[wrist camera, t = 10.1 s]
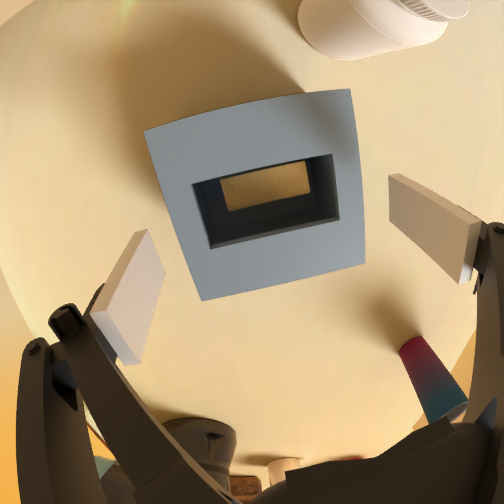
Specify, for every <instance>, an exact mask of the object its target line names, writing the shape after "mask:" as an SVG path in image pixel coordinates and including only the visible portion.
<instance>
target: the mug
mask: <svg viewBox="0 0 504 504" xmlns="http://www.w3.org/2000/svg"><path fill="white" fill-rule="evenodd" d="M267 466H268V473H269V481H270V487H271V486H272V485H274V484H276V483H278V482H281V481H283V480H285V479H286V478H285V472H284V471H288V470H294V469H298V468H303V467H308V466H310V465H307V466H300V463H299V460H298V459H295V458H283V459H278V460H274V461H272V462H270V463H269V464H268V465H267Z"/></svg>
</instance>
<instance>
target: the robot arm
mask: <svg viewBox="0 0 504 504" xmlns="http://www.w3.org/2000/svg"><path fill="white" fill-rule="evenodd" d="M388 181H389V220H390V222H391V223H393V224H394V225H395V226H396V227H397V228H398V229H400V230H401V231H402V232H403V233H404V234H405V235H406V236H408V237H409V238H410V239H411V240H412V241H413V242H414V243H416V244H417V245H418V246H419V247H420V248H421V249H422V250H423V251H424V252H425V253H426V254H428V255H429V256H430V257H431V258H432V259H433V260H434V261H435V262H436V263H437V264H438V265H439V266H440V267H441V268H442V269H443V270H444V271H445V272H446V273H447V274H448V275H449V276H450V277H451V278H452V279H453V280H454V281H455V282H456V283H457V284H458V285H459V284H462V283H464V282H466V281H469V280H471V276H472V272H473V267H474V268H475V269H476V270H477V271H478V272H479V273H478V277H477V281H476V285H475V288H474V292H473V294H475V293H476V291H477V330H476V346H475V357H474V367H473V375H472V382H471V388H470V395H469V400H468V406H467V410H466V413H465V416H464V418H463V420H462V422H459V423H452V424H451V423H450V421H449V420H448V418H447V416H445V417H443V418H441V419H439V420H437V421H435V422H433V423H431V424H429V425H427V426H425V427H423V428H421V429H418V430H416V431H414V432H412V433H411V434H409V435H408V436H407V437H405V438H404V439H402V440H401V441H400V442H398V443H397V444H395V445H394V446H392V447H391V448H390V449H388V450H387V451H385V452H384V453H382V454H380V455H379V456H377V457H374V458H368V459H358V460H345V461H328V462H324V463H320V464H316V465H312V466H308V467H303V468H298V469H294V470H288V471H284V472H285V478H286V479H285V480H283V481H281V482H278V483H276V484H274V485H272V486H271V487H269V488H267V489H266V490H264V491H263V492H261V493H260V494H258V495H257V496H256V497H255V498H254V499H252V500H251V501H250V502H249V503H248V504H504V224H502V223H499V222H492V223H489V224H486V223H485V222H483V221H482V220H480V219H479V218H477V217H476V216H474V215H472V214H471V213H470V212H468V211H466V210H465V209H463V208H462V207H460V206H458V205H456V204H454V203H452V202H451V201H449V200H447V199H446V198H444V197H442V196H440V195H439V194H437V193H435V192H433V191H432V190H430V189H428V188H426V187H424V186H422V185H421V184H419V183H417V182H415V181H413V180H411V179H409V178H407V177H405V176H403V175H401V174H394V175H388ZM164 275H165V271H164V268H163V266H162V264H161V261H160V259H159V256H158V254H157V251H156V249H155V246H154V244H153V241H152V239H151V236H150V234H149V231H148V229H146V230H142V231H138V232H135V233H134V235H133V237H132V238H131V240H130V241H129V243H128V245H127V246H126V248H125V250H124V251H123V253H122V255H121V256H120V258H119V260H118V262H117V263H116V265H115V267H114V268H113V270H112V272H111V274H110V276H109V277H108V279H107V281H106V283H103V284H102V285H101V286H100V287H99V288H98V289H97V290H96V292H95V294H94V296H93V299H91V301H90V303H89V305H88V307H87V309H86V311H85V313H84V315H83V316H82V315H81V313H80V311H79V310H78V308H77V307H76V305H75V304H73V303H69V304H65V305H63V306H61V307H59V308H58V309H57V310H56V311H54V313H53V314H52V315H51V316H50V318H49V320H48V324H49V326H50V327H51V329H52V330H53V332H54V333H55V335H56V336H57V337H58V339H59V340H60V341H59V342H57V343H55V344H52V345H49V344H48V343H47V341H46V340H45V339H44V338H41V337H39V338H36V339H34V340H33V341H30V342H29V343H28V344H27V346H26V348H25V349H24V351H23V354H22V360H21V368H20V376H19V385H18V396H17V412H16V459H17V474H18V485H19V493H20V500H21V504H243V503H242V502H240V501H239V500H238V499H237V498H235V497H234V496H233V495H232V494H231V491H230V478H229V467H230V464H231V461H232V458H233V454H234V451H235V448H236V444H237V440H236V432H235V431H234V430H233V429H232V428H231V427H229V426H227V425H225V424H223V423H220V422H216V421H212V420H206V419H197V418H185V419H176V420H172V421H169V422H167V423H165V424H163V425H162V424H161V423H160V422H159V421H158V420H157V418H156V417H155V416H154V415H153V414H152V412H151V411H150V410H149V409H148V407H147V406H146V405H145V404H144V402H143V401H142V400H141V398H140V397H139V396H138V394H137V393H136V392H135V390H134V389H133V388H132V386H131V385H130V384H129V382H128V381H127V379H126V378H125V377H124V375H123V374H122V372H121V371H120V370H119V368H118V367H117V365H116V364H115V361H116V358H117V356H118V357H119V359H120V360H121V361H122V363H123V364H124V365H134V364H141V360H142V356H143V352H144V348H145V344H146V340H147V336H148V332H149V328H150V324H151V321H152V317H153V313H154V310H155V306H156V302H157V299H158V295H159V292H160V288H161V285H162V282H163V278H164ZM82 397H83V398H82ZM83 399H84V401H85V403H86V405H87V407H88V409H89V411H90V413H91V415H92V417H93V419H94V421H95V423H96V425H97V427H98V429H99V431H100V433H101V434H102V436H103V438H104V440H105V441H106V443H107V445H108V447H109V448H110V450H111V452H112V453H113V455H114V456H115V458H116V460H111V459H107V458H103V457H101V456H94V455H93V451H92V447H91V443H90V439H89V433H88V428H87V423H86V417H85V411H84V405H83Z"/></svg>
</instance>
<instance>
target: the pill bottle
mask: <svg viewBox="0 0 504 504" xmlns="http://www.w3.org/2000/svg"><path fill="white" fill-rule="evenodd" d="M469 7H470V0H302V2H301V4H300V6H299V9H298V24H299V28H300V30H301V32H302V34H303V36H304V37H305V39H306V40H307V41H308V42H309V44H310V45H311V46H313V47H314V48H315V49H316V50H318V51H319V52H321V53H322V54H324V55H326V56H329V57H331V58H334V59H339V60H356V59H360V58H364V57H368V56H372V55H377V54H381V53H385V52H390V51H395V50H400V49H405V48H411V47H416V46H422V45H426V44H429V43H431V42H433V41H435V40H436V39H437V38H439V37H440V36H441V35H442V33H443V32H444V31H445V29H446V27H447V24H448V21H454V20H459V19H462V18H463V17H465V16H466V14H467V13H468V11H469Z"/></svg>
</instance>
